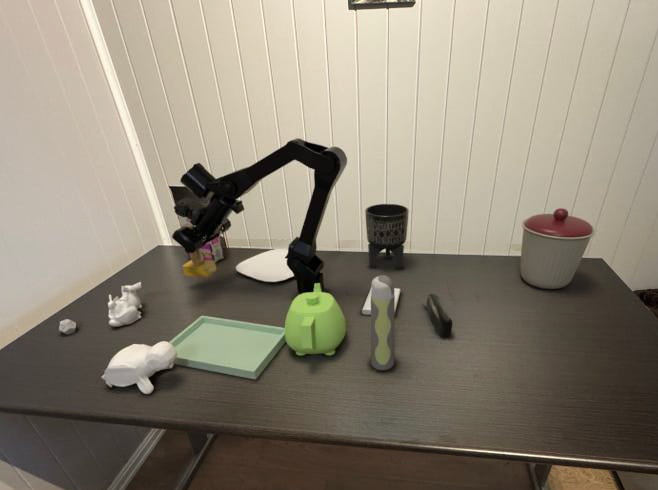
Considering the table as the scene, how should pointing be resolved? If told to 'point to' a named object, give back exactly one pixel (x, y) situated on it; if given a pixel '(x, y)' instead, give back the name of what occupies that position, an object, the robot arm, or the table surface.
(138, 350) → the white turtle figurine
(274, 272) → the plate
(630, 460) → the table surface
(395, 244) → the planter
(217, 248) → the candy bar box
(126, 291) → the white figurine
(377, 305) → the grey green cylinder
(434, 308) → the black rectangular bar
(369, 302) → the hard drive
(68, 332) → the game die
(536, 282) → the canister
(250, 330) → the tray
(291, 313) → the teapot
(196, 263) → the sponge wand
